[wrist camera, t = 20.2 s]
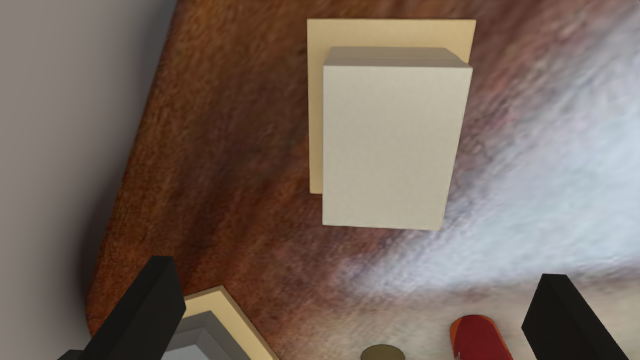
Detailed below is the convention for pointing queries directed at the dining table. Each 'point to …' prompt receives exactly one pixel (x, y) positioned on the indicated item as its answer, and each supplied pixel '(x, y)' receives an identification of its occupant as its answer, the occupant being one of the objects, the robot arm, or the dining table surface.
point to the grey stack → (216, 331)
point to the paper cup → (477, 339)
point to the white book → (390, 139)
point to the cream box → (373, 43)
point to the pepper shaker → (382, 353)
